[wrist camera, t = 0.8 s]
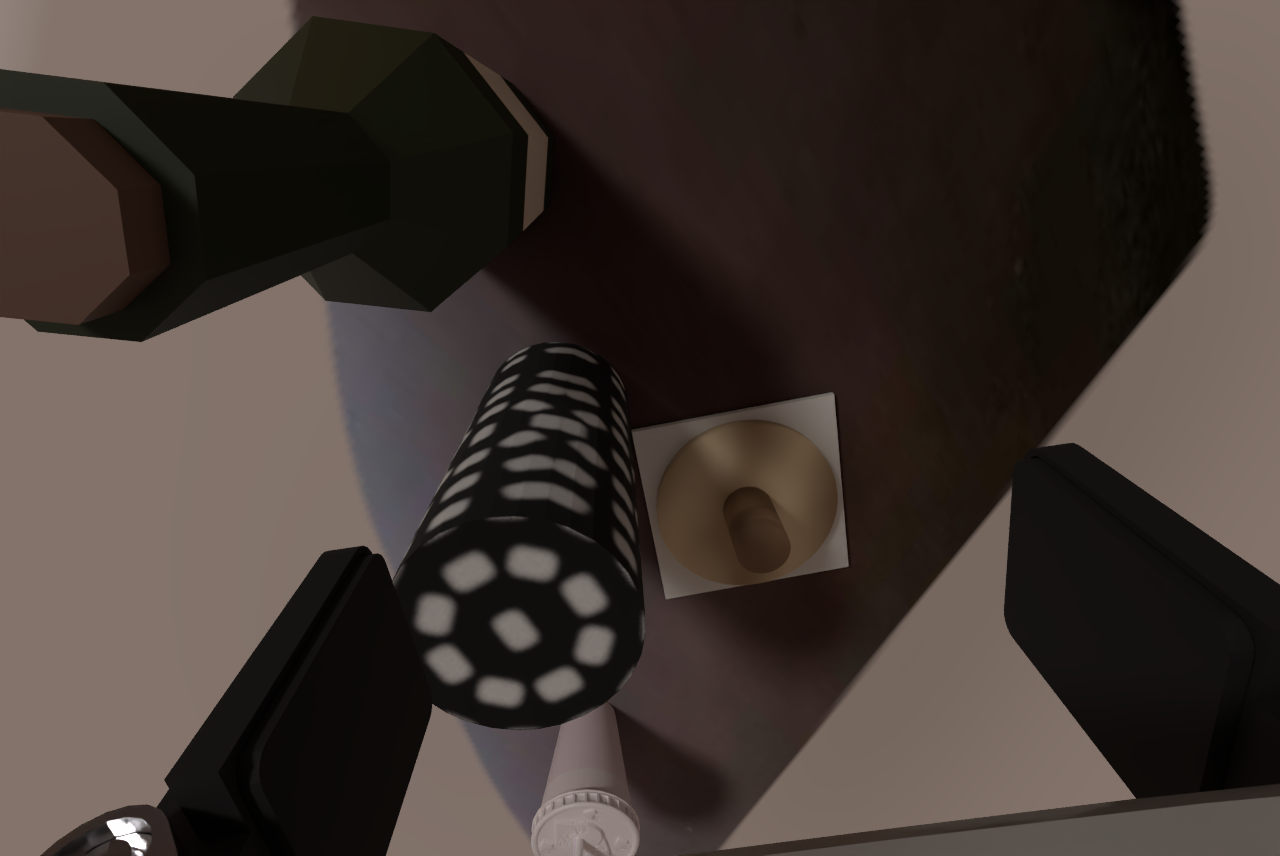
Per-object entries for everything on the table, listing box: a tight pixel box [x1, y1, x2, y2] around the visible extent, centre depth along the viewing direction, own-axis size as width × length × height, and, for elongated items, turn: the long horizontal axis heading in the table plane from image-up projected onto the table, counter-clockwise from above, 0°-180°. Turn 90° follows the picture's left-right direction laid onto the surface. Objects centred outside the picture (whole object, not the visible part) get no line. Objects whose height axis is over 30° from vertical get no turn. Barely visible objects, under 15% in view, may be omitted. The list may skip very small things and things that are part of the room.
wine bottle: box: [0, 16, 555, 342], centre depth 22 cm, size 8×8×30 cm
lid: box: [656, 420, 838, 585], centre depth 41 cm, size 11×11×6 cm
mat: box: [632, 392, 849, 599], centre depth 44 cm, size 12×12×1 cm
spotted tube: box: [392, 342, 645, 730], centre depth 32 cm, size 8×8×20 cm
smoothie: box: [531, 702, 640, 856], centre depth 43 cm, size 6×6×14 cm
